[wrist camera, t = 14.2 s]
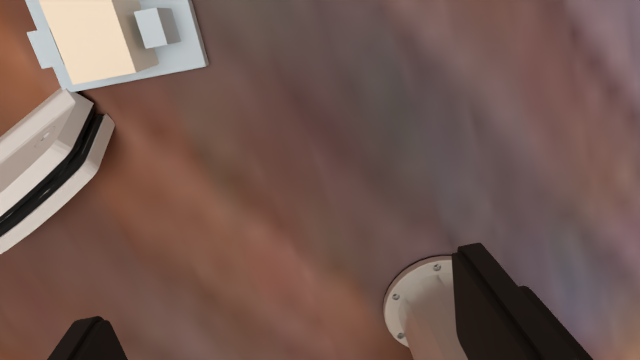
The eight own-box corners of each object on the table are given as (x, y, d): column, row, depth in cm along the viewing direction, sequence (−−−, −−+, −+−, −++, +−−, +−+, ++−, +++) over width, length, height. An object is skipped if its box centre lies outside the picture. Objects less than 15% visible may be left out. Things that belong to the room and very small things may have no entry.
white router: (73, 76, 35) (44, 137, 27) (119, 114, 38) (104, 178, 30) (-58, 184, 38) (-117, 267, 30) (-5, 211, 41) (-47, 293, 33)
